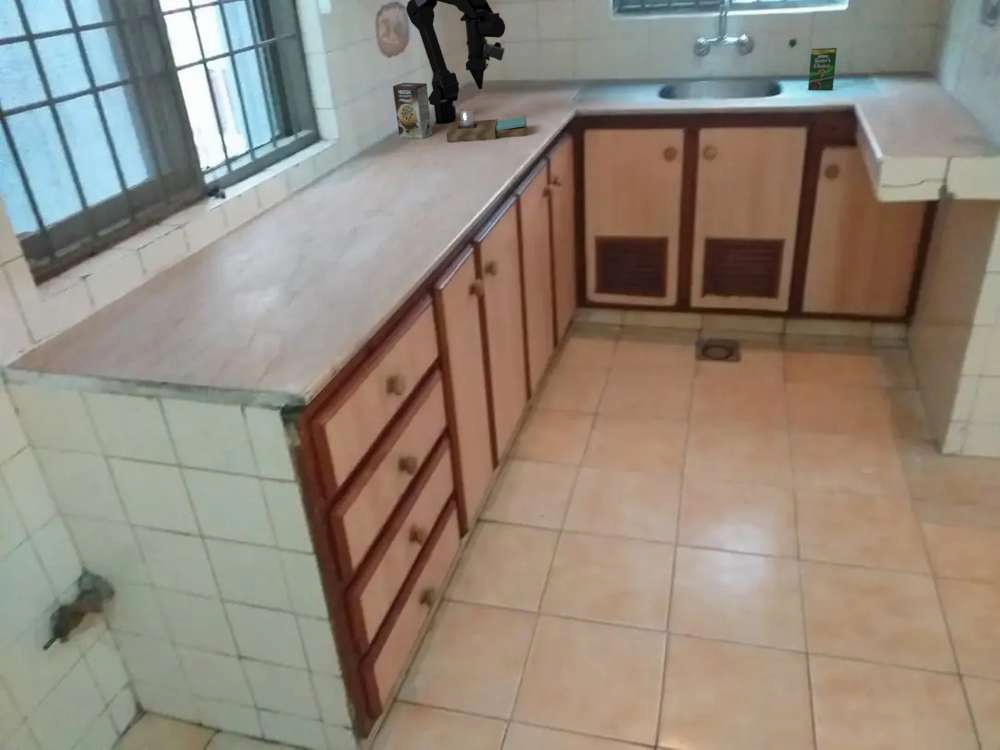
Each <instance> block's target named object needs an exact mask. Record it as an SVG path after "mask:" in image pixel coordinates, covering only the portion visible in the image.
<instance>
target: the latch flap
mask: <svg viewBox="0 0 1000 750" xmlns="http://www.w3.org/2000/svg"><path fill="white" fill-rule="evenodd" d="M526 123H527V115H526V116H525V115H524V116H520V117H519V116H518V117H513V118H512V117H511V118H505V119H500V120H498V123H497V127H496V130H503V129H509V128H516V127H522V126H525V125H526Z"/></svg>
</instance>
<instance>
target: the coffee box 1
mask: <svg viewBox="0 0 1000 750" xmlns="http://www.w3.org/2000/svg"><path fill="white" fill-rule="evenodd" d="M392 89H393V90H392V91H393V98H394V108H395V115H396V120H397V129H398V137H399V138H400V139H412V138H415V139H416V138H418V139H416V140H424V139H426V138H427V136H428V137H430V136H432V135H433V132H432V124H431V123H432V122H431V113H430V103H429V100H428V98H429V95H428V94H429V93H428V84H427V83H424V82H423V83H422V82H420V83H419V82H401V83H398V84H395V85H393V86H392ZM429 135H430V136H429ZM425 137H426V138H425ZM423 138H424V139H423ZM415 139H414V140H415Z"/></svg>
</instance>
